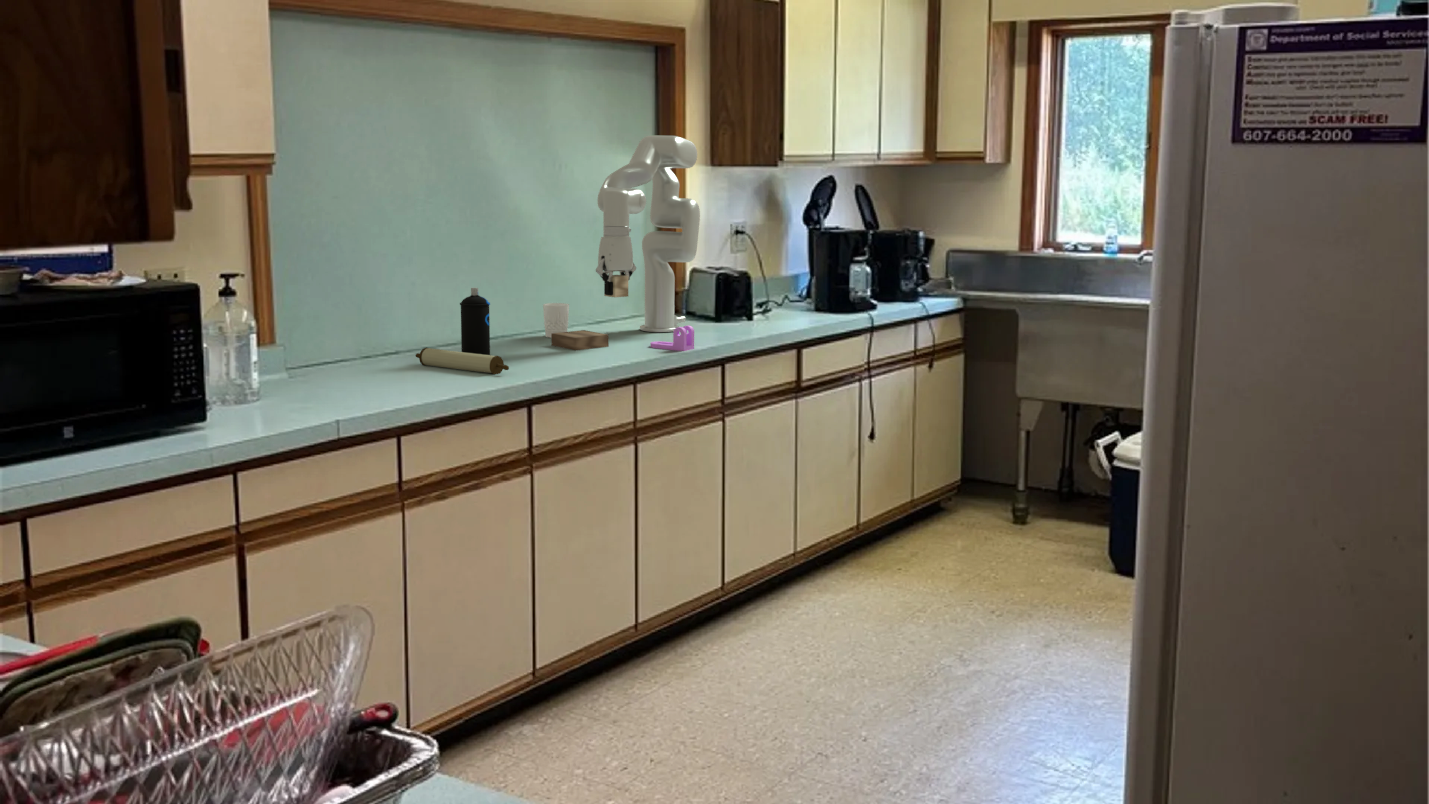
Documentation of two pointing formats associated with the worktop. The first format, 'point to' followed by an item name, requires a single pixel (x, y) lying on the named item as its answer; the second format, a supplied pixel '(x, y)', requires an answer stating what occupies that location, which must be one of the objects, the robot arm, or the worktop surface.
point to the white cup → (555, 318)
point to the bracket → (678, 340)
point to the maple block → (619, 286)
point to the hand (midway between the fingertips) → (616, 293)
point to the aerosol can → (475, 324)
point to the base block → (579, 340)
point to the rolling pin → (461, 360)
